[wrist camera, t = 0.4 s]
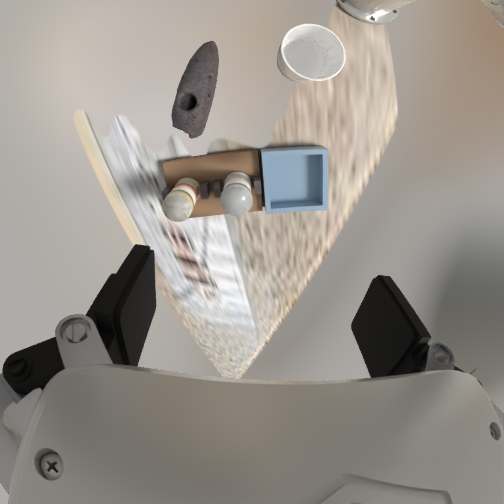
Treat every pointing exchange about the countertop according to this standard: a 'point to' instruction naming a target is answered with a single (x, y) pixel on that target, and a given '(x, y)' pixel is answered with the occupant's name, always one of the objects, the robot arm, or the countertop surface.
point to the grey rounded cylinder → (236, 194)
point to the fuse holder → (214, 178)
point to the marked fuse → (181, 199)
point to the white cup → (310, 54)
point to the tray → (295, 178)
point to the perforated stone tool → (196, 91)
